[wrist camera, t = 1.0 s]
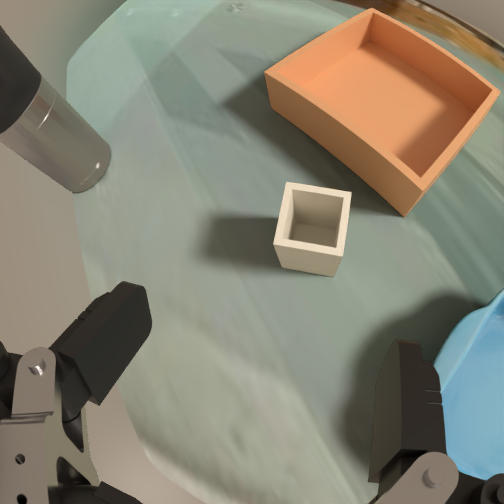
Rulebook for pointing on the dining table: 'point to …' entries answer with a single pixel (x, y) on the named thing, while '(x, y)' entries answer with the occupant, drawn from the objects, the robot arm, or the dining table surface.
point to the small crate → (312, 228)
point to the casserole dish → (475, 390)
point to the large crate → (382, 103)
